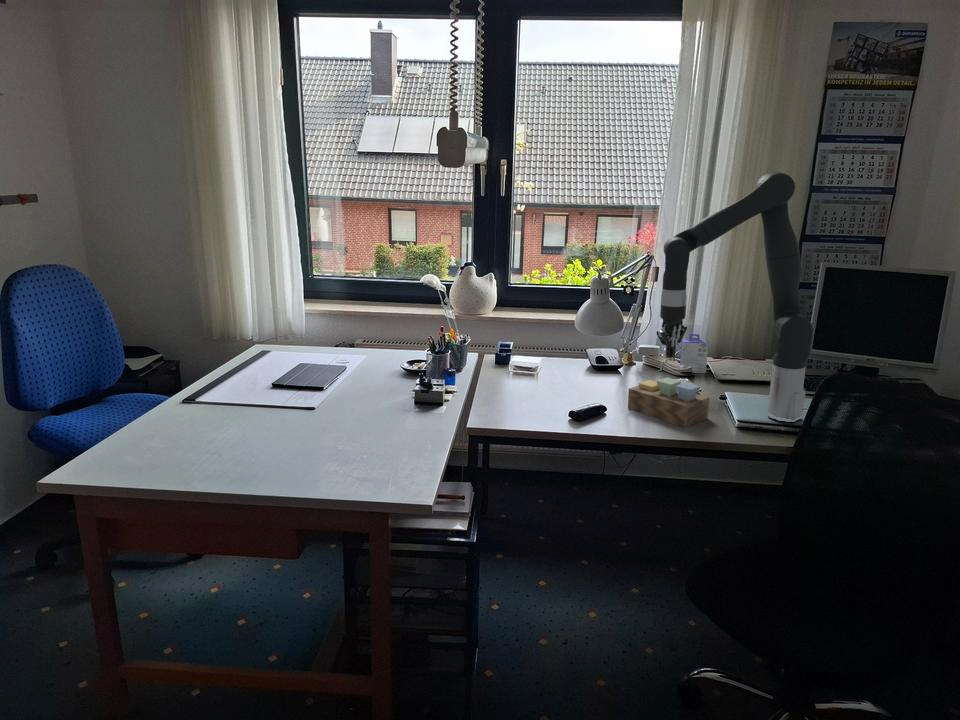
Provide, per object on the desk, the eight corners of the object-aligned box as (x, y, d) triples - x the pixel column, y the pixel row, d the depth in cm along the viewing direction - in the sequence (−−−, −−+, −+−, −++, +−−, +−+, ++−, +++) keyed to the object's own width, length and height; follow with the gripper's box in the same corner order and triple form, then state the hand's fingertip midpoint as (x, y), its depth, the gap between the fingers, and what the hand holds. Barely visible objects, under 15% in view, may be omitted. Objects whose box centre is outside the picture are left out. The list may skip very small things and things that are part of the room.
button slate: (698, 407, 206) (700, 386, 204) (688, 411, 203) (690, 389, 201) (684, 403, 210) (685, 382, 208) (674, 407, 207) (675, 385, 205)
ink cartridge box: (704, 369, 259) (707, 333, 255) (706, 373, 253) (709, 337, 250) (678, 368, 261) (681, 333, 257) (679, 372, 255) (682, 336, 251)
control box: (707, 418, 208) (709, 397, 206) (684, 427, 201) (686, 405, 199) (650, 400, 225) (651, 381, 223) (627, 408, 218) (628, 388, 216)
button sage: (679, 402, 212) (680, 381, 210) (669, 405, 208) (670, 384, 207) (665, 398, 215) (667, 377, 214) (655, 401, 212) (657, 380, 210)
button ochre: (660, 403, 218) (662, 383, 216) (650, 407, 214) (652, 386, 213) (648, 399, 221) (649, 379, 220) (638, 403, 218) (639, 383, 216)
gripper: (670, 308, 197) (667, 363, 201) (696, 302, 204) (693, 356, 209) (649, 304, 202) (647, 359, 207) (676, 298, 210) (673, 351, 215)
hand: (670, 357), depth 208 cm, fingers closed
